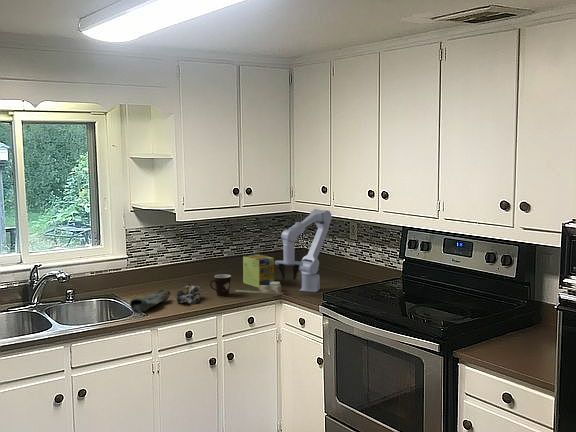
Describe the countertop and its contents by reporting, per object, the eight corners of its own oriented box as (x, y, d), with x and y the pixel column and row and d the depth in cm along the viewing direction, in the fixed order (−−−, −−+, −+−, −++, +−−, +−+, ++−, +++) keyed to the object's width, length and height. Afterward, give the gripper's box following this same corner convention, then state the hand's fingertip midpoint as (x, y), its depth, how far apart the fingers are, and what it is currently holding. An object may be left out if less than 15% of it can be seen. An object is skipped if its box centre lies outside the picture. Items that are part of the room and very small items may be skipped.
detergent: (146, 314, 291) (180, 300, 313) (144, 299, 290) (178, 286, 312) (125, 312, 297) (159, 299, 319) (123, 298, 297) (158, 285, 318)
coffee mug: (229, 292, 331) (228, 273, 330) (232, 296, 323) (232, 277, 322) (207, 294, 327) (207, 275, 326) (210, 298, 319) (210, 279, 318)
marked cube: (280, 290, 335) (280, 282, 335) (277, 292, 331) (277, 284, 330) (272, 289, 337) (272, 281, 336) (269, 291, 332) (269, 283, 332)
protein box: (259, 288, 340) (259, 260, 338) (242, 283, 351) (242, 256, 349) (274, 285, 346) (274, 257, 344) (257, 280, 358) (257, 253, 356)
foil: (168, 295, 312) (189, 275, 319) (179, 311, 317) (200, 291, 324) (179, 299, 303) (201, 278, 310) (191, 315, 307) (212, 294, 315)
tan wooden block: (281, 292, 328) (281, 285, 328) (280, 293, 325) (280, 286, 325) (259, 291, 331) (259, 284, 331) (258, 292, 328) (258, 285, 328)
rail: (283, 293, 327) (283, 292, 327) (282, 294, 326) (282, 293, 326) (236, 290, 334) (236, 289, 334) (235, 291, 332) (235, 290, 332)
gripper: (273, 253, 321) (273, 279, 323) (300, 255, 317) (300, 281, 319) (277, 251, 328) (277, 276, 329) (304, 252, 324) (304, 278, 326)
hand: (289, 278), depth 325 cm, fingers open, 5 cm apart
